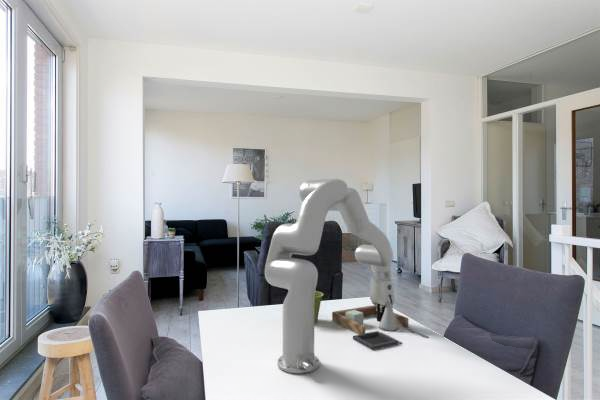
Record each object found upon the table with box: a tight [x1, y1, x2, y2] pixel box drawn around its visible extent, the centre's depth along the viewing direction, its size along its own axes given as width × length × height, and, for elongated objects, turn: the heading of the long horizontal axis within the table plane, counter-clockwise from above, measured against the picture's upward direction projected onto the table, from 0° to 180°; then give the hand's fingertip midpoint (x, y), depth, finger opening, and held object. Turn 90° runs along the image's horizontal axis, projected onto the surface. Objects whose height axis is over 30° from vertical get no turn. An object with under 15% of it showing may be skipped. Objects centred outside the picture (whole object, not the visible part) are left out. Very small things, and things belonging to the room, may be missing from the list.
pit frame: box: [352, 330, 399, 351], centre depth 131 cm, size 11×11×1 cm
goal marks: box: [380, 326, 429, 345], centre depth 136 cm, size 11×13×1 cm
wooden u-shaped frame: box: [331, 304, 409, 335], centre depth 150 cm, size 20×22×4 cm
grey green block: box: [345, 310, 364, 326], centre depth 148 cm, size 5×5×5 cm
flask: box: [378, 302, 399, 332], centre depth 144 cm, size 7×7×10 cm
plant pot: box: [314, 290, 324, 324], centre depth 153 cm, size 12×12×11 cm
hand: (381, 321), depth 148 cm, fingers closed
